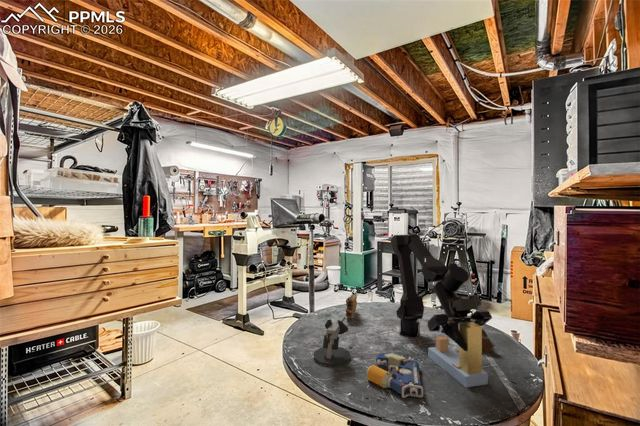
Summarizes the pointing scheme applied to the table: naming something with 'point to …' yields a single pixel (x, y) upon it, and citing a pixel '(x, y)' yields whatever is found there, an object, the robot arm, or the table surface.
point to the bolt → (486, 343)
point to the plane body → (454, 364)
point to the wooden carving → (351, 305)
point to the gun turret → (333, 346)
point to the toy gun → (397, 374)
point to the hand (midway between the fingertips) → (473, 349)
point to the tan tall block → (471, 348)
